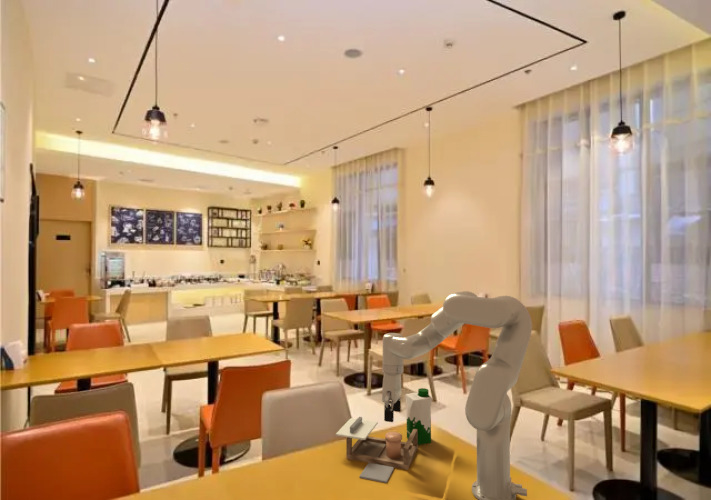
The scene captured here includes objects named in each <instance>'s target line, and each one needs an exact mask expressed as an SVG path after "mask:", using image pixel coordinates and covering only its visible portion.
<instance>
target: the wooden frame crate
mask: <svg viewBox="0 0 711 500" xmlns="http://www.w3.org/2000/svg"><path fill="white" fill-rule="evenodd" d="M345 439H346V442H345V443H346V445H345V446H346V459H347V460H351V461H358V462H364V463H367V464H368V463H374V464H379V465H384V466H390V467H394V469H395V468H396V469H401V470H407V471H408V470H409V469H410V466H411V464H412V462H413V460H414V457H415V455H416V452H417V451H418V446H419V445H418V429H413V431H412V433H411V435H410V436H409V438H408V439H407V440H406V442H405V441H401V457H400V458H397V459H392V458H389V457H387V455H386V439H385V438H382V437H375V436H369V435H368V437H367V438H366V439H365V440H361V439H356V440H357V441H356V442H355V443H354V444H353V438H349V437H346V438H345ZM412 441H413V443H412Z"/></svg>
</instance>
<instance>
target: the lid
mask: <svg viewBox="0 0 711 500" xmlns="http://www.w3.org/2000/svg"><path fill="white" fill-rule="evenodd" d="M378 424H379V423H378V421H374V420H369V419H363V417H362V416H359V417H357V418H355V417H353V418H352V417H350V419H348V421H346V423H345V424H343V425H342V426H341V427H340V428H339V430H338V431H337V432H336V433H335V436H339V437H344V438H347V437H349V438H352V439H355V440H358V439H361V440H365V439H366V438H367V437H368V436H369V435H370V434H371V433H372V432H373V430H375V428H376V427H377V425H378Z"/></svg>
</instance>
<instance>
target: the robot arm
mask: <svg viewBox="0 0 711 500" xmlns="http://www.w3.org/2000/svg"><path fill="white" fill-rule="evenodd" d="M465 324H467V325H471V326H477V327H482V328H489V329H499V328H501V330H500V333H499V334H498V337H497V339H496V342H495V345H494V349H493V352H492V355H491V356H490V358H489V359H488V360H487V361H485V362H484V363H482V364H481V365H479V367H478V368H477V371H476V372H475V374H474V376H473V380H472V384H471V387H470V389H469V393H468V396H467V399H466V403H465V407H464V409H465V411H464V412H465V416H466V420H467V421H468V424H469V425H470V426H471V427H472V428H473V429H475V430H476V480H475V481H474V482H473V483H472V484H471V492H472V494H473V496H474V497H475V498H476V499H477V500H516V499H517V495H520V496H523V497H528V491H527V490H528V489H527V488H524V487H523V485H522V484H520V483H514V482H513V481H512V477H511V453H510V452H511V451H510V450H511V447H510V446H511V443H510V442H511V439H510V438H511V431H510V430H511V420H512V402H511V398H510V397H509V395H508V391H510V390H511V389H512V388H513V387H514V386H515V385H516V384H517V382H518V380H519V376H520V373H521V369H522V366H523V363H524V360H525V357H526V354H527V350H528V346H529V343H530V341H531V337H532V330H533V327H532V326H533V323H532V318H531V315H530V312H529V311H528V309H527V307H526V306H525V305H524V303H522V302H521V301H520V300H518V298H516V297H513V296H511V295H500V296H496V297H492V298H491V297H484V296H483V297H482V296H478V295H477V294H476V293H474V292H472V291H466V290H465V291H458V292H453V293H450V294H449V295H448V296H447V297H446V298H445V300H443V304H442V306H441V307H440V308H439V309H437V310H436V311H435V312H434V313H433V314H432V315H431V316H430V323H429V324H428V325H427V326H425V327H424V328H423V329H421V330H420V331H418V332H417V333H415V334H411V335H408V336H403V335H402V334H400V333H397V332H388V333H385V334H384V335H383V337H382V365H381V366H382V369H381V370H382V373H383V378H382V387H381V388H382V392H381V393H382V395H381V401H382V403H384V405H383V413H384V415H383V417H384V420H383V421H384V422H389V423H394V415H395V414H394V412H396V413H400V412H401V395H402V375H403V374H404V360H409V361H410V360H413V359H415V358H418V357H420V356H423V355H425V354H427V353H429V352H430V351H431V350H433V349H434V348H436V347H437V346H438V345H440V344H441V343H442V342H443V341H444V340H445V339H447V338H449V336H450V335H451V334H453V333H454V332H455V331H457V330H458V329H460V328H461V327H462V326H464V325H465Z"/></svg>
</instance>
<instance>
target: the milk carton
mask: <svg viewBox="0 0 711 500" xmlns="http://www.w3.org/2000/svg"><path fill="white" fill-rule="evenodd" d="M432 401H433V398H432V396H430V394H429V389H428V388H425V387H424V388H423V387H421V388H418V390H417V392H411V393H405V405H406V410H405V411H406V438H407V440H408V438H409V436H410V435H411V433H412V431H413V429H418V446H419V445H425V444H426V445H427V444H432V410H431V409H432ZM412 443H413V441H412Z"/></svg>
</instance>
